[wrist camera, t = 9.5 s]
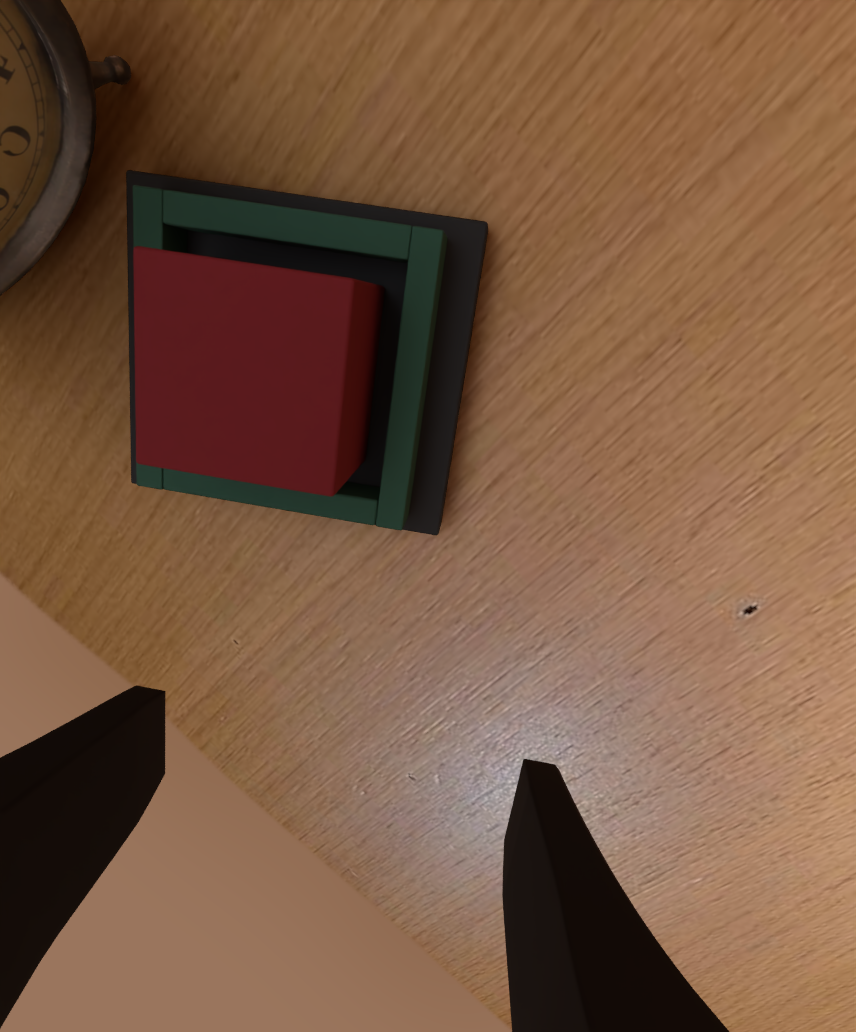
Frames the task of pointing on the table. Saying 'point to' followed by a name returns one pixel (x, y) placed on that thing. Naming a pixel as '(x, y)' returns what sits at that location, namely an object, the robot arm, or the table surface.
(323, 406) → the red cube
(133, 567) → the table surface
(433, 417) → the base pad
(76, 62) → the alarm clock
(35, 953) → the robot arm
